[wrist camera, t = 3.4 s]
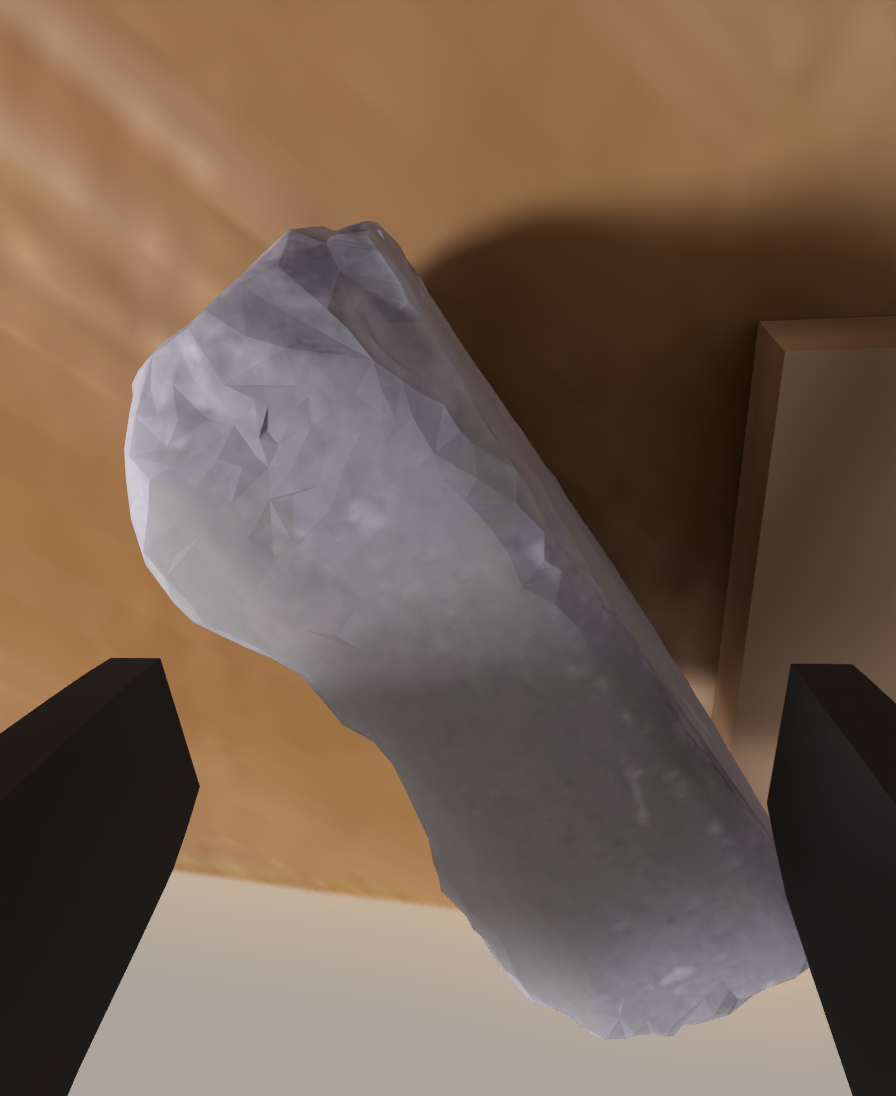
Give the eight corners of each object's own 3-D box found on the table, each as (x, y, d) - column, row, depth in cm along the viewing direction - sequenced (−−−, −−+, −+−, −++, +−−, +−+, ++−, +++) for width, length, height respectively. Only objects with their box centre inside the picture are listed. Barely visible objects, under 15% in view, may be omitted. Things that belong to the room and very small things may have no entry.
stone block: (730, 609, 19) (887, 1055, 10) (547, 683, 21) (550, 1122, 12) (466, 117, 14) (350, 179, 6) (258, 262, 16) (-75, 480, 7)
